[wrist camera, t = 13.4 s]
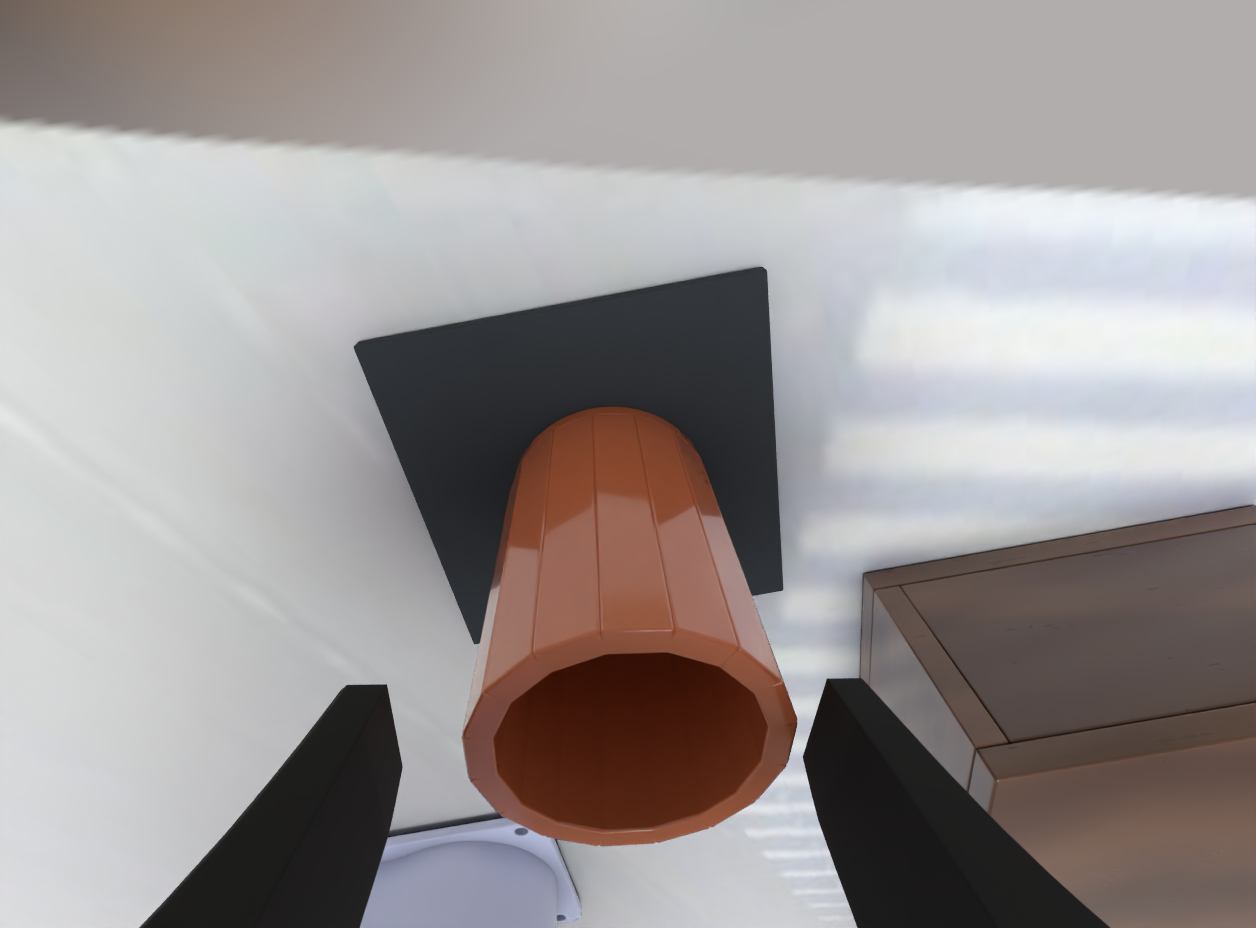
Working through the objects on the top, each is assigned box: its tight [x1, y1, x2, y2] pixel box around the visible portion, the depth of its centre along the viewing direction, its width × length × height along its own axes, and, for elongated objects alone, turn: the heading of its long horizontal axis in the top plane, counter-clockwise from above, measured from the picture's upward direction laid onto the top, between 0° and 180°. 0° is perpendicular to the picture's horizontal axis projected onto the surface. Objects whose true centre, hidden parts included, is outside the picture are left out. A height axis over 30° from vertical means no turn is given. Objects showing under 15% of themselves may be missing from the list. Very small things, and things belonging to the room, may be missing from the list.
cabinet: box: [860, 506, 1256, 928], centre depth 20 cm, size 15×13×7 cm
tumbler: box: [462, 406, 797, 846], centre depth 13 cm, size 5×5×8 cm
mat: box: [354, 267, 783, 644], centre depth 17 cm, size 10×10×1 cm
